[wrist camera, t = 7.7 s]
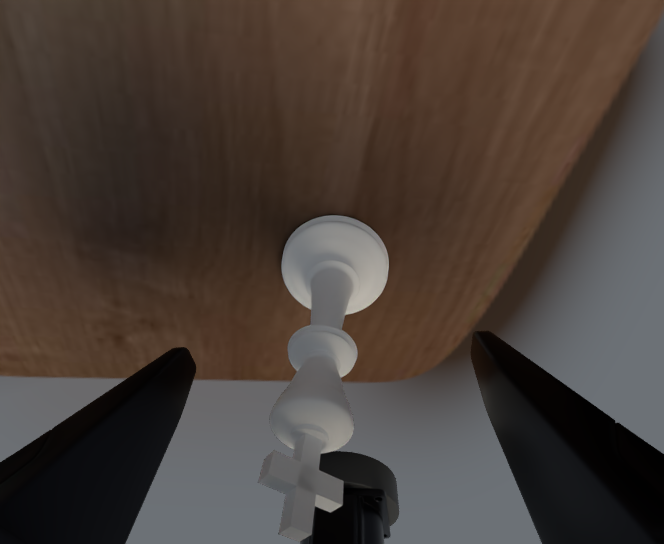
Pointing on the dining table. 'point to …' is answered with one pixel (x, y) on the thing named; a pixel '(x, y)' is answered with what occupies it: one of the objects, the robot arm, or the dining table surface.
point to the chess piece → (320, 361)
